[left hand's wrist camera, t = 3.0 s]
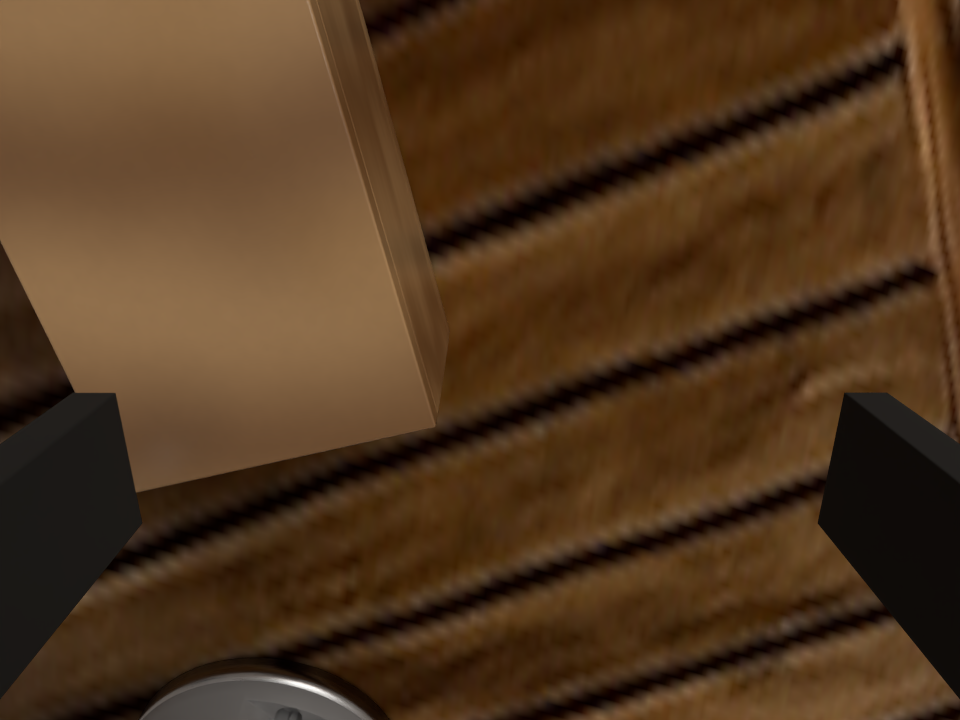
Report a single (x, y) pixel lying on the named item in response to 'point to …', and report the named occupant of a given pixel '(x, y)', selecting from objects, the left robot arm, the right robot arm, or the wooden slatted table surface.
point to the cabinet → (218, 226)
